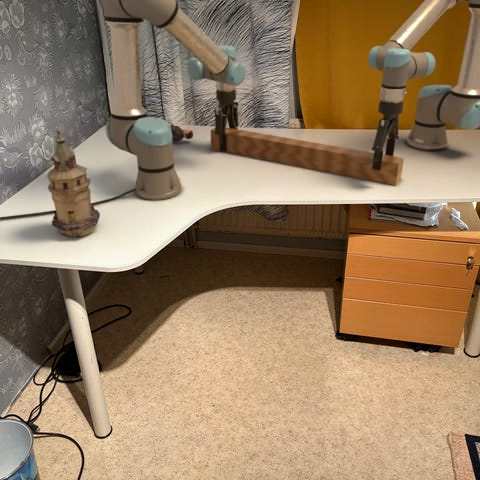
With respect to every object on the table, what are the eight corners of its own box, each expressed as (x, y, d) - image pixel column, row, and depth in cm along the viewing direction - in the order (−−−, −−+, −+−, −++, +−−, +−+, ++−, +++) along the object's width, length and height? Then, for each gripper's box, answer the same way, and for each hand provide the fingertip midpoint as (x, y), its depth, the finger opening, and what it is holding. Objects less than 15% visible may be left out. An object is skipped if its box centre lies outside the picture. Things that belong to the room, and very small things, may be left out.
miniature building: (80, 214, 164) (63, 117, 149) (111, 225, 157) (96, 125, 142) (44, 231, 154) (22, 130, 140) (75, 244, 147) (55, 139, 133)
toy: (134, 117, 234) (200, 117, 228) (136, 131, 237) (202, 131, 231) (110, 136, 212) (182, 136, 205) (113, 151, 215) (184, 152, 208)
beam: (211, 149, 213) (210, 130, 209) (219, 144, 217) (218, 126, 213) (395, 185, 180) (398, 163, 176) (400, 179, 184) (403, 157, 180)
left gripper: (220, 96, 192) (222, 157, 204) (247, 85, 206) (247, 142, 218) (203, 94, 196) (206, 154, 207) (230, 83, 210) (231, 139, 221)
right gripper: (391, 111, 160) (382, 177, 170) (413, 93, 179) (404, 154, 189) (367, 107, 163) (359, 172, 173) (391, 91, 182) (383, 150, 192)
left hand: (227, 148), depth 212 cm, fingers closed on beam, 6 cm apart
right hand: (382, 163), depth 181 cm, fingers open, 13 cm apart
